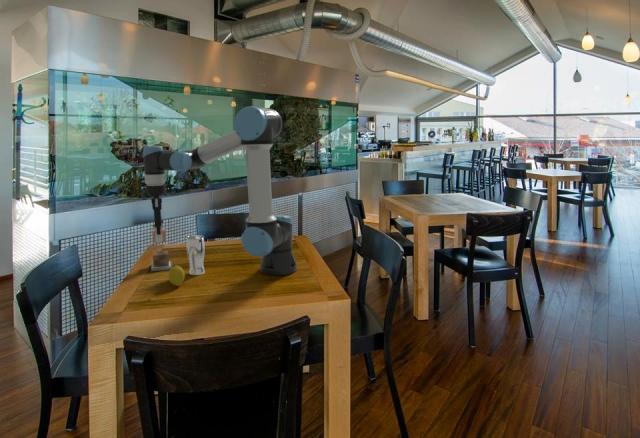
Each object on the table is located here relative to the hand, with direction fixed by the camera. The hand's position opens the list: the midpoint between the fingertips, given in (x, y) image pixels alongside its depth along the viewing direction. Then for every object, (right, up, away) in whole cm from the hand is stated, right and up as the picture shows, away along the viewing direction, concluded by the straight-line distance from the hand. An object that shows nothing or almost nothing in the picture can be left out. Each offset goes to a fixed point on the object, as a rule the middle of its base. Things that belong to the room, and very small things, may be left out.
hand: (159, 240), depth 176 cm
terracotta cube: (0, 0, 0) cm, 0 cm away
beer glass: (+17, -13, -5) cm, 22 cm away
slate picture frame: (0, -11, +2) cm, 12 cm away
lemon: (+14, -16, -20) cm, 29 cm away
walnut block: (0, -10, +2) cm, 11 cm away
